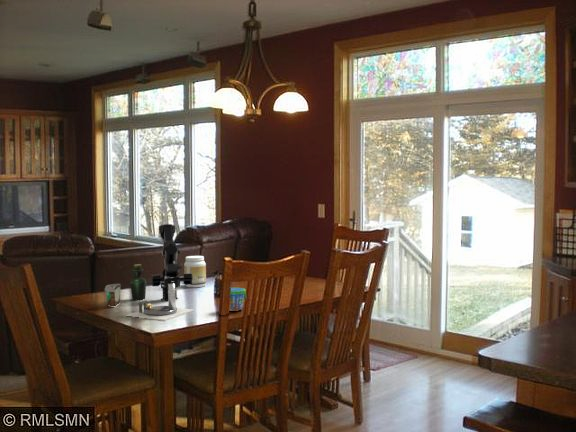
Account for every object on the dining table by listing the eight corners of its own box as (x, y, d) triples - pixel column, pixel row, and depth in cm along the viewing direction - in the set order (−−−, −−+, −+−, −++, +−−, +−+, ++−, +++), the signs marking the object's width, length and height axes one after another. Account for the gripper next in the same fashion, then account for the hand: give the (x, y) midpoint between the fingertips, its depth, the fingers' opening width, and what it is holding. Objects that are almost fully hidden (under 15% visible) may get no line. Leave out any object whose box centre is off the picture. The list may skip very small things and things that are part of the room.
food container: (108, 303, 325) (108, 283, 324) (121, 303, 325) (120, 283, 324) (102, 308, 312) (101, 288, 312) (114, 308, 312) (114, 287, 312)
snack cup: (238, 306, 313) (237, 285, 312) (254, 309, 306) (253, 287, 305) (214, 312, 301) (214, 290, 300) (230, 315, 294) (230, 292, 294)
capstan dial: (139, 311, 301) (138, 283, 300) (169, 306, 309) (168, 279, 308) (151, 316, 289) (150, 287, 288) (182, 312, 297) (181, 283, 296)
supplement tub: (210, 285, 373) (209, 256, 372) (197, 288, 362) (196, 258, 361) (193, 283, 379) (193, 254, 378) (180, 286, 369) (179, 257, 368)
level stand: (126, 316, 294) (125, 305, 294) (156, 307, 314) (155, 296, 313) (165, 320, 284) (164, 308, 284) (193, 310, 304) (193, 299, 304)
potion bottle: (139, 297, 339) (138, 263, 338) (150, 298, 335) (149, 264, 334) (127, 300, 333) (126, 265, 331) (138, 301, 328) (137, 266, 327)
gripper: (151, 258, 300) (152, 285, 290) (191, 256, 305) (194, 283, 295) (151, 272, 309) (152, 299, 299) (190, 270, 313) (193, 297, 303)
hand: (173, 294), depth 299 cm, fingers closed
